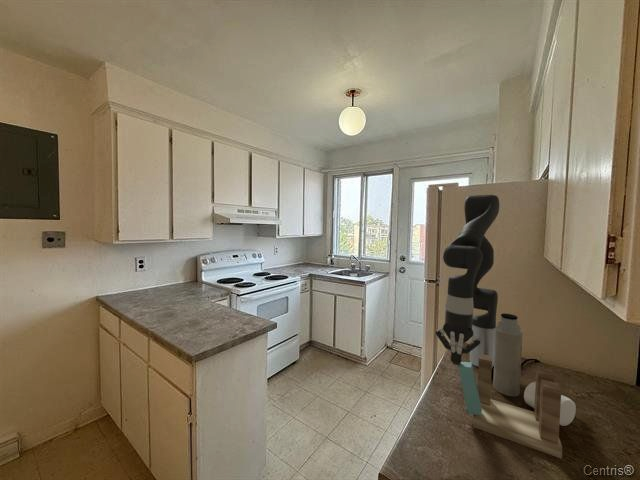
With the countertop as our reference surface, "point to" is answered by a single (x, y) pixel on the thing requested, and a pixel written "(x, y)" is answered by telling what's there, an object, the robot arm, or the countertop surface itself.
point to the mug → (565, 409)
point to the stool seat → (522, 412)
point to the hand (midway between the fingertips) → (455, 363)
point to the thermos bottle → (507, 356)
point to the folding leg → (470, 388)
